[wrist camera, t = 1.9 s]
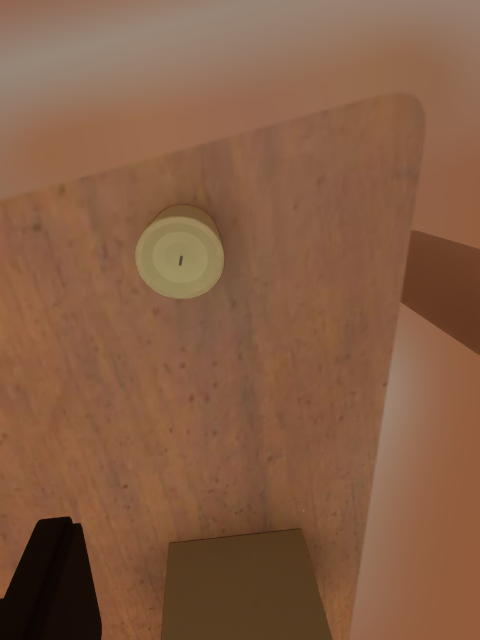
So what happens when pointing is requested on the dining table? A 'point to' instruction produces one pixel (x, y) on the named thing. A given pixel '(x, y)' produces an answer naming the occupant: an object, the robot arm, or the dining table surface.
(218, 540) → the beige box
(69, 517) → the robot arm
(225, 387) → the dining table surface
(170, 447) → the dining table surface
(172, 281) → the candle
